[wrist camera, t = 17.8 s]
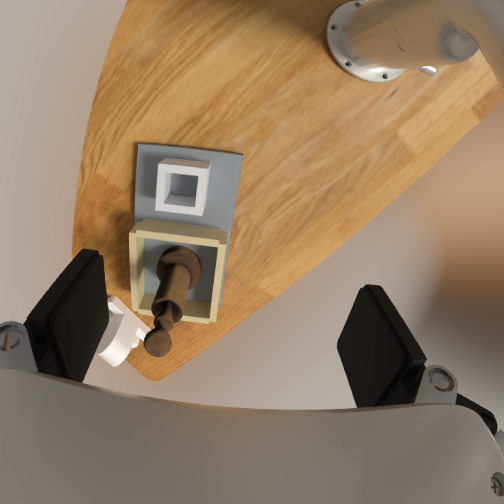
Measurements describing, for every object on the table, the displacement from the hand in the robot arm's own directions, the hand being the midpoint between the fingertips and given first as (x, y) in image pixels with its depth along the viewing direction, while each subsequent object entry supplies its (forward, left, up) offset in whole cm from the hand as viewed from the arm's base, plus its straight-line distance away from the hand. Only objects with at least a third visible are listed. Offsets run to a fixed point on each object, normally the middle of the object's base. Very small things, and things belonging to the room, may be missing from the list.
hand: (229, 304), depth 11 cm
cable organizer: (+16, +31, -33) cm, 48 cm away
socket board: (+6, +12, -32) cm, 35 cm away
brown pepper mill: (+6, +17, -31) cm, 36 cm away
